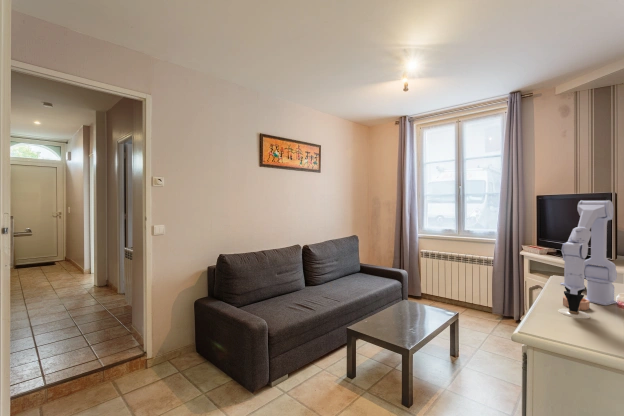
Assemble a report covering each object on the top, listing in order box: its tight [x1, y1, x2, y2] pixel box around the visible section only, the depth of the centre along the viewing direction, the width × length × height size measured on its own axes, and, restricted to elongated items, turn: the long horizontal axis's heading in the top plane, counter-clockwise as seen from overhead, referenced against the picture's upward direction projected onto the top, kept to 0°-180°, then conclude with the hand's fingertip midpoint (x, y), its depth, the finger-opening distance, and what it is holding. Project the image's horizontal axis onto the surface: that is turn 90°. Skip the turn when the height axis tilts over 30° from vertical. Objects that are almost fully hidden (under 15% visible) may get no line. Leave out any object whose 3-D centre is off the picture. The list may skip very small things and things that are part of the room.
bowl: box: [562, 295, 590, 311], centre depth 120 cm, size 8×8×3 cm
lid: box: [557, 308, 591, 319], centre depth 113 cm, size 9×9×4 cm
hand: (573, 308), depth 113 cm, fingers open, 7 cm apart
